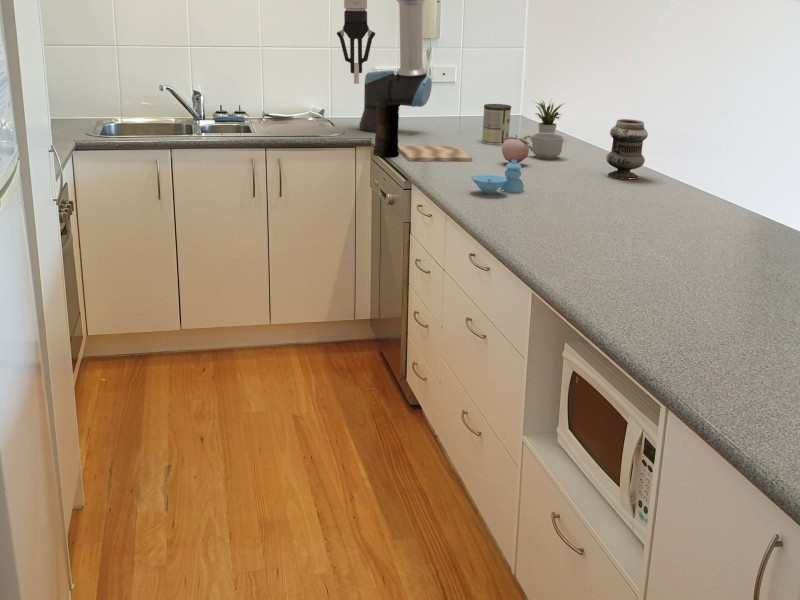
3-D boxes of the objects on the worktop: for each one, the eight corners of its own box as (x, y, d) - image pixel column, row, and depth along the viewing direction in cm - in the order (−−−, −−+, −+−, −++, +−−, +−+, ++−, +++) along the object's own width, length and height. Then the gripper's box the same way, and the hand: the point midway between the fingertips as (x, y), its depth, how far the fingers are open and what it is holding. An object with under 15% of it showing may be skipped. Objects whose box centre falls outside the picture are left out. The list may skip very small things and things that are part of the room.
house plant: (520, 140, 356) (524, 97, 351) (529, 135, 368) (533, 94, 363) (556, 143, 351) (560, 101, 346) (564, 138, 363) (568, 97, 358)
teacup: (565, 157, 325) (567, 134, 322) (556, 161, 316) (559, 138, 313) (527, 152, 330) (529, 130, 328) (518, 157, 321) (520, 134, 318)
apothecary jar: (621, 181, 287) (628, 124, 281) (596, 174, 297) (602, 118, 291) (650, 179, 293) (657, 123, 287) (625, 172, 303) (632, 117, 297)
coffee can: (481, 139, 353) (484, 103, 349) (508, 141, 353) (511, 104, 348) (481, 144, 344) (483, 106, 339) (508, 145, 343) (511, 108, 338)
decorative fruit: (497, 165, 305) (499, 135, 302) (503, 161, 313) (505, 132, 309) (524, 168, 302) (527, 138, 299) (530, 164, 310) (532, 134, 306)
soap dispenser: (487, 199, 257) (489, 167, 254) (462, 191, 265) (464, 161, 262) (532, 192, 268) (535, 162, 265) (507, 185, 275) (510, 156, 272)
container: (372, 152, 319) (373, 100, 313) (397, 153, 320) (399, 101, 314) (373, 157, 310) (375, 103, 304) (399, 157, 311) (402, 104, 305)
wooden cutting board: (408, 161, 306) (409, 157, 305) (397, 149, 326) (397, 146, 326) (472, 161, 310) (472, 157, 310) (456, 149, 330) (456, 146, 330)
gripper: (336, 10, 293) (337, 84, 302) (376, 10, 295) (376, 84, 303) (335, 9, 300) (336, 82, 309) (374, 9, 302) (374, 81, 310)
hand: (356, 83), depth 306 cm, fingers closed
